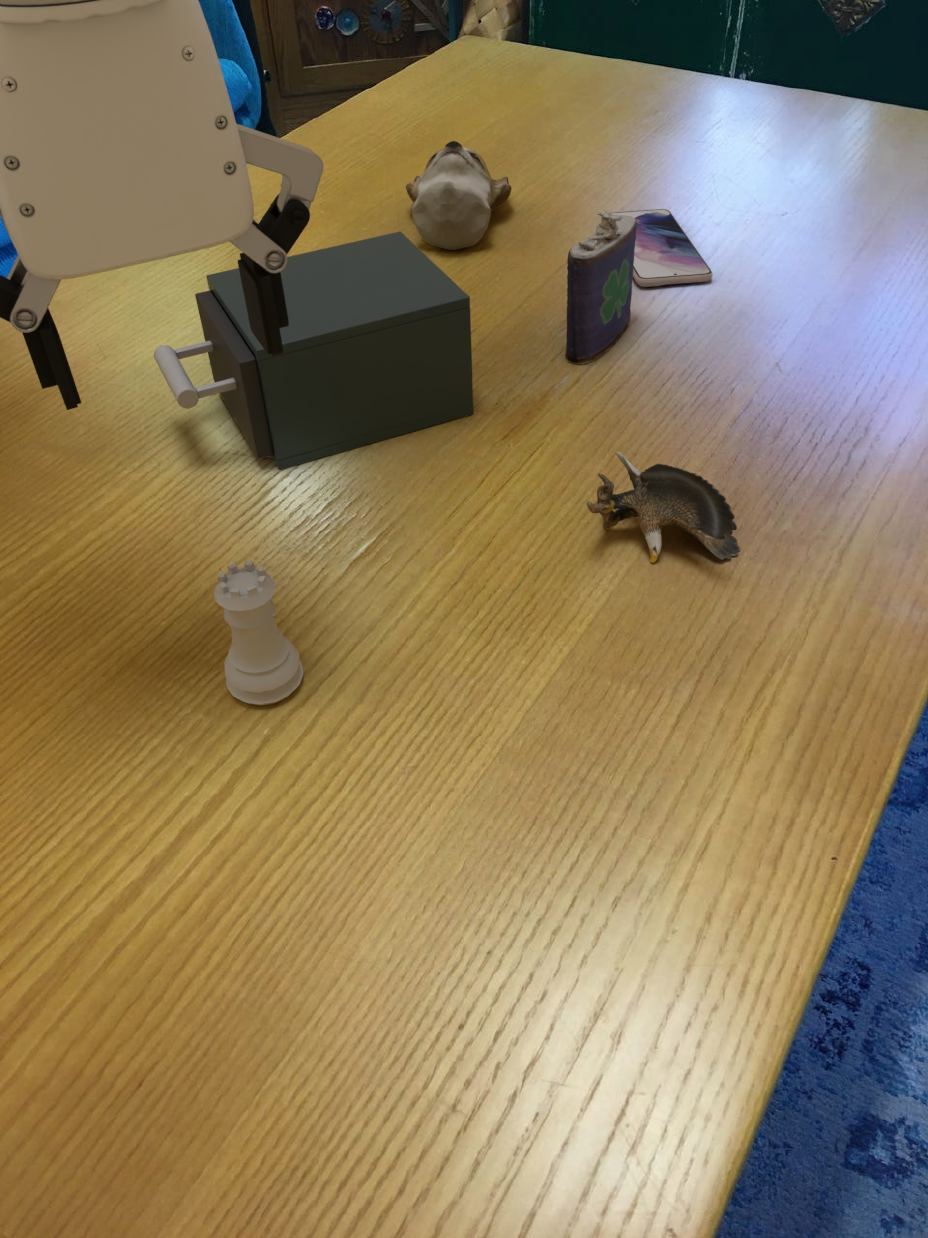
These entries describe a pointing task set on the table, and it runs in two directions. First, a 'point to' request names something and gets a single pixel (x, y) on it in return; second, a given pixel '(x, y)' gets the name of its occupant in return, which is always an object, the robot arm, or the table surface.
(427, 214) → the ceramic sculpture
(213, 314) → the drawer
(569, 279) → the flask
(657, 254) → the smartphone
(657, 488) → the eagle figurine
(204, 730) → the table surface
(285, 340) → the cabinet
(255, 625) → the rook chess piece
